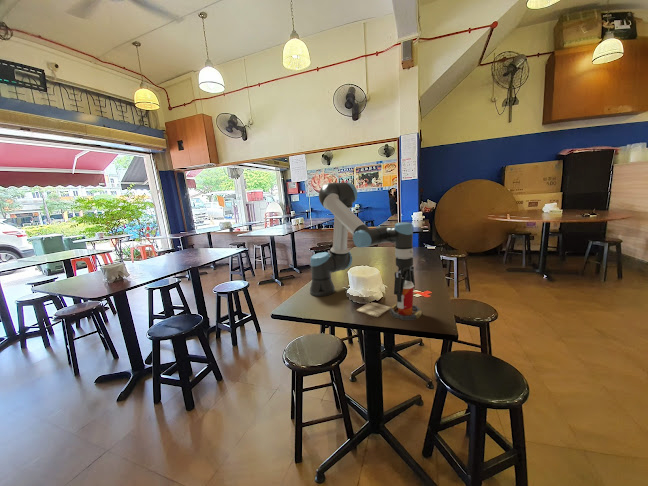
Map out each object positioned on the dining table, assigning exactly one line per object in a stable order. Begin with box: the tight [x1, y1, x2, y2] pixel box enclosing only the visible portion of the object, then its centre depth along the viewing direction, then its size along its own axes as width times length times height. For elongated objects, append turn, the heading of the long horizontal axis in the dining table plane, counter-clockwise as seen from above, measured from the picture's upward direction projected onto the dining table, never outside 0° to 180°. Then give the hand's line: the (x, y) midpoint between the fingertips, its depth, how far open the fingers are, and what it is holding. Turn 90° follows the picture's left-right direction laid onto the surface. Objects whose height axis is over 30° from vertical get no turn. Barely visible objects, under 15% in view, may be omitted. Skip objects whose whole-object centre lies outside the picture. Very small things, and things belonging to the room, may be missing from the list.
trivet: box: [356, 301, 391, 318], centre depth 123 cm, size 12×12×1 cm
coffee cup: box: [397, 280, 415, 315], centre depth 115 cm, size 8×8×15 cm
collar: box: [389, 303, 422, 321], centre depth 117 cm, size 13×13×2 cm
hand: (405, 304), depth 116 cm, fingers closed on coffee cup, 8 cm apart
